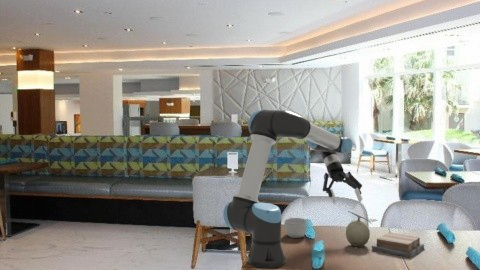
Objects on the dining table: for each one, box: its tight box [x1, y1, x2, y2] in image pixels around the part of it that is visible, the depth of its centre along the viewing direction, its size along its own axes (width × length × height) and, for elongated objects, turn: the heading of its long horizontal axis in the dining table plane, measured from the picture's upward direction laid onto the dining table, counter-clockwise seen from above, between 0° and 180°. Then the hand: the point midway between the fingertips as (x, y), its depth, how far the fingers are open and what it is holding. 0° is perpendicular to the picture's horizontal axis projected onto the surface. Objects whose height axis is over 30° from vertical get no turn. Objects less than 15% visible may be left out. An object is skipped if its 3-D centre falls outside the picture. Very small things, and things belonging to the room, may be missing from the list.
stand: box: [371, 232, 425, 258], centre depth 219 cm, size 17×17×5 cm
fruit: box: [345, 210, 373, 248], centre depth 224 cm, size 10×12×15 cm
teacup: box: [283, 217, 308, 239], centre depth 242 cm, size 14×11×8 cm
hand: (348, 201), depth 234 cm, fingers open, 13 cm apart
